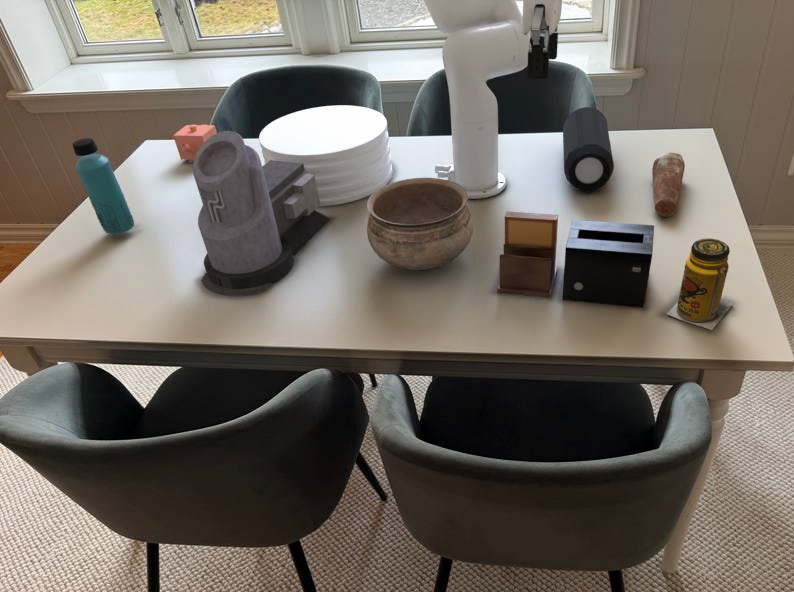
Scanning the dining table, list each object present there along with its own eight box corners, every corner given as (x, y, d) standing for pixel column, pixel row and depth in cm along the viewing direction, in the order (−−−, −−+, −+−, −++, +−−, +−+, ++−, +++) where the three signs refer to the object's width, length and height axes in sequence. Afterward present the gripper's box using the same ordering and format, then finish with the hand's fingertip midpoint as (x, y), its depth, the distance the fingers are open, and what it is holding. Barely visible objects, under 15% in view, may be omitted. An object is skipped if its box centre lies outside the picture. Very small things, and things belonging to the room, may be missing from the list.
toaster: (561, 303, 110) (564, 250, 103) (568, 270, 117) (572, 219, 111) (643, 311, 107) (652, 257, 100) (645, 277, 114) (654, 225, 107)
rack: (497, 292, 114) (496, 256, 109) (506, 266, 120) (506, 231, 115) (550, 297, 111) (552, 261, 107) (557, 270, 117) (559, 235, 113)
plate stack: (416, 163, 156) (411, 114, 148) (342, 216, 138) (332, 164, 131) (323, 145, 168) (315, 99, 161) (245, 191, 151) (231, 142, 143)
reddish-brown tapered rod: (682, 177, 141) (687, 152, 137) (677, 221, 127) (682, 194, 124) (651, 175, 142) (655, 150, 139) (643, 218, 129) (647, 191, 125)
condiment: (665, 315, 105) (678, 249, 98) (688, 290, 110) (702, 225, 102) (711, 331, 102) (728, 264, 94) (733, 304, 106) (750, 238, 99)
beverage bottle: (144, 228, 141) (108, 135, 128) (121, 243, 136) (81, 149, 123) (121, 223, 143) (83, 132, 130) (98, 238, 139) (56, 145, 126)
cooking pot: (453, 305, 112) (450, 241, 104) (349, 292, 117) (338, 230, 109) (488, 231, 129) (487, 172, 122) (397, 223, 135) (390, 165, 127)
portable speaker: (612, 196, 137) (617, 149, 130) (562, 196, 138) (565, 150, 132) (604, 145, 156) (608, 102, 149) (561, 146, 157) (563, 103, 151)
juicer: (260, 302, 116) (221, 169, 101) (185, 288, 122) (138, 160, 106) (339, 220, 137) (317, 99, 121) (273, 211, 142) (244, 94, 127)
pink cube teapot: (175, 168, 164) (164, 135, 158) (198, 148, 172) (188, 117, 167) (204, 169, 162) (194, 136, 157) (226, 149, 171) (217, 117, 165)
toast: (504, 273, 116) (504, 216, 109) (506, 267, 118) (506, 211, 111) (553, 277, 114) (556, 220, 107) (555, 271, 116) (558, 214, 109)
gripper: (530, -64, 104) (528, 51, 115) (510, -42, 92) (509, 85, 103) (579, -66, 102) (572, 52, 113) (565, -44, 90) (558, 86, 101)
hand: (542, 68), depth 108 cm, fingers open, 9 cm apart
